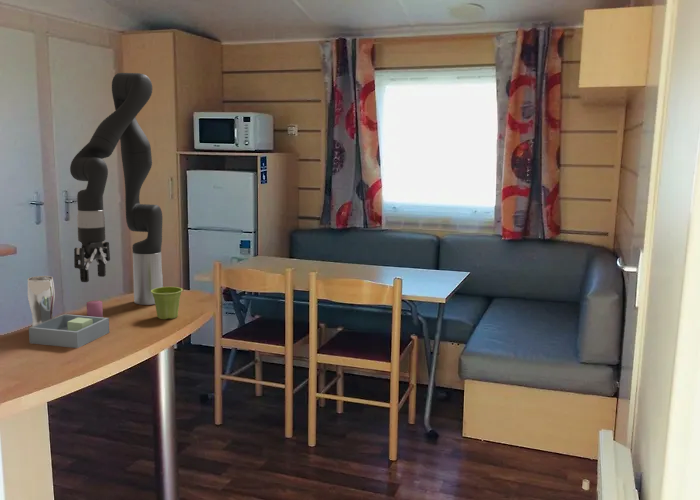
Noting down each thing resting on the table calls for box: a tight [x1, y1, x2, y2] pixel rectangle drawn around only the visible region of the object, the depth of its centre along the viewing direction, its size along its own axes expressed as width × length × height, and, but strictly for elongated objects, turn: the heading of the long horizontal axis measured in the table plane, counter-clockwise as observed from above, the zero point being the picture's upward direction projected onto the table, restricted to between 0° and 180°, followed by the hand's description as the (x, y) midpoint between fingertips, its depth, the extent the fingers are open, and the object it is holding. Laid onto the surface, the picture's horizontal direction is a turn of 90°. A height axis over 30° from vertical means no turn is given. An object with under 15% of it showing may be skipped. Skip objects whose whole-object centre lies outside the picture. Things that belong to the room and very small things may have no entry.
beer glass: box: [27, 275, 56, 327], centre depth 186 cm, size 7×7×15 cm
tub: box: [28, 313, 110, 349], centre depth 180 cm, size 15×15×4 cm
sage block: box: [67, 318, 93, 331], centre depth 178 cm, size 5×5×5 cm
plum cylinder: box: [86, 300, 104, 318], centre depth 195 cm, size 4×4×6 cm
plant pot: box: [151, 286, 183, 320], centre depth 202 cm, size 9×9×9 cm
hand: (93, 279), depth 194 cm, fingers open, 8 cm apart
